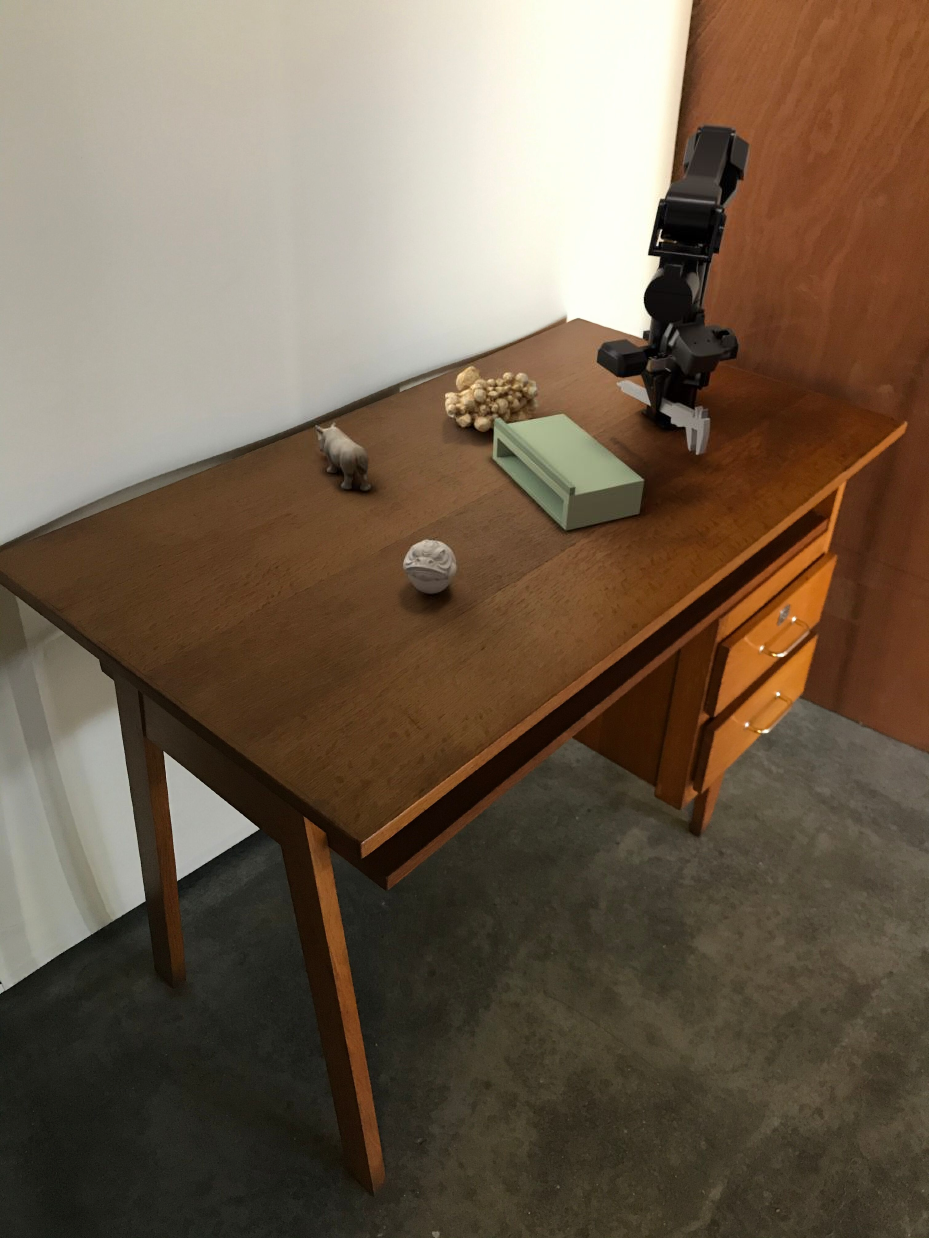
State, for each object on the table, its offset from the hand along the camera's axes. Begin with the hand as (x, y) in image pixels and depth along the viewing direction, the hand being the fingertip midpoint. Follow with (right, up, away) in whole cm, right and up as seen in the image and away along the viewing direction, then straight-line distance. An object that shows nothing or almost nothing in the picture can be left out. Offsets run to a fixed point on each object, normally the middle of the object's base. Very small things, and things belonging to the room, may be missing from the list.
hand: (659, 411), depth 136 cm
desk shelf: (-13, -10, 0) cm, 16 cm away
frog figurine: (-30, -25, -21) cm, 45 cm away
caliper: (0, -1, +1) cm, 2 cm away
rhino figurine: (-43, -8, +2) cm, 44 cm away
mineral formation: (-24, +1, +15) cm, 28 cm away
